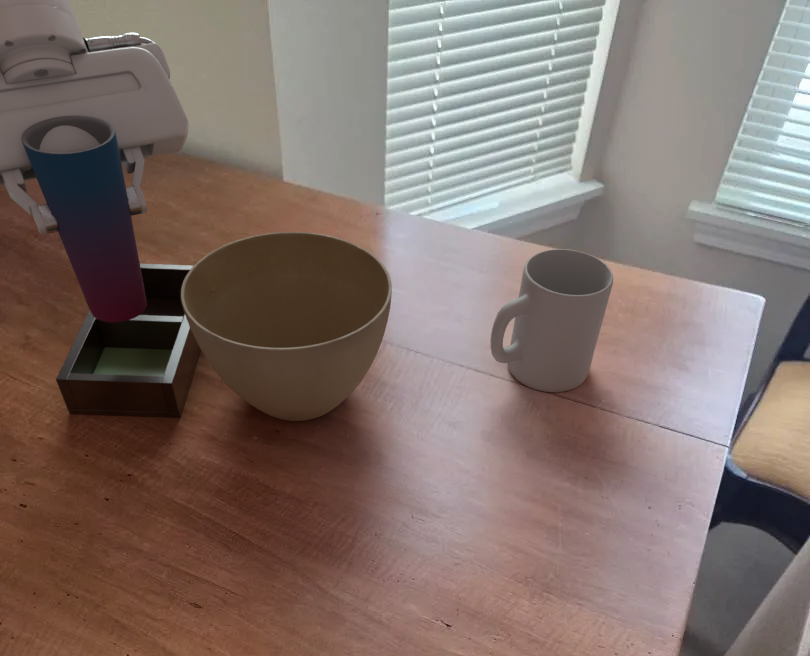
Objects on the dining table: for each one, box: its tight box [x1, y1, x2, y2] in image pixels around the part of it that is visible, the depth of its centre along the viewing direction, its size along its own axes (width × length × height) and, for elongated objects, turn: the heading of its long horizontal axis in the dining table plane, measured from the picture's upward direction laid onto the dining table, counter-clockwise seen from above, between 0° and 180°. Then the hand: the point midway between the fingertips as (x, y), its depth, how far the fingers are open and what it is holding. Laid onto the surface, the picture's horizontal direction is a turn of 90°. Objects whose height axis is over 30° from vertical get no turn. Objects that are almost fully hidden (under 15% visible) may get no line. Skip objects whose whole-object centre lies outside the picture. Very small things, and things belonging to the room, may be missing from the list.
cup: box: [21, 116, 147, 322], centre depth 63 cm, size 7×7×15 cm
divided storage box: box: [55, 263, 202, 419], centre depth 76 cm, size 10×20×4 cm, turn 179°
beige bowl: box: [181, 231, 393, 422], centre depth 70 cm, size 18×18×12 cm
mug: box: [490, 248, 614, 393], centre depth 74 cm, size 12×8×11 cm
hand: (94, 221), depth 62 cm, fingers closed on cup, 6 cm apart
